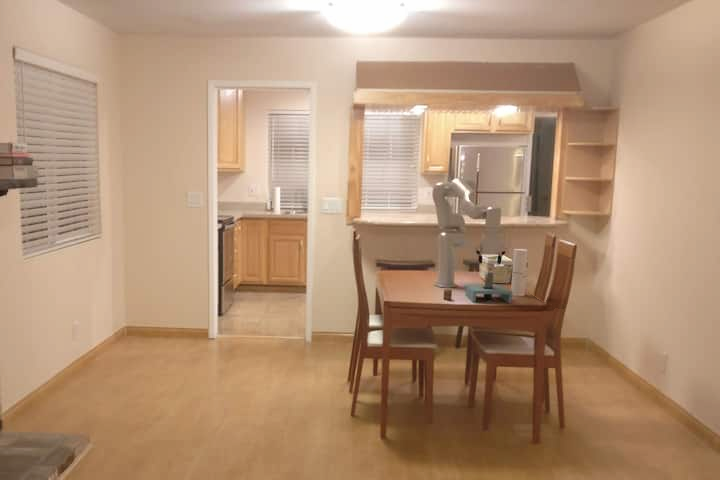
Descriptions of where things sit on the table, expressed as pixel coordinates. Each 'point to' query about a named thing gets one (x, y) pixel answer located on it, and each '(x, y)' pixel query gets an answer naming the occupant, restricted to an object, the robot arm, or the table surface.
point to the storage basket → (496, 268)
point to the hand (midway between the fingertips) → (489, 263)
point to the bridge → (488, 292)
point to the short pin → (447, 294)
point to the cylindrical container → (519, 272)
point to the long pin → (488, 284)
